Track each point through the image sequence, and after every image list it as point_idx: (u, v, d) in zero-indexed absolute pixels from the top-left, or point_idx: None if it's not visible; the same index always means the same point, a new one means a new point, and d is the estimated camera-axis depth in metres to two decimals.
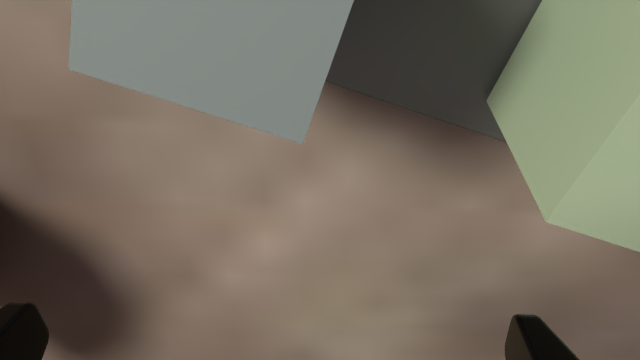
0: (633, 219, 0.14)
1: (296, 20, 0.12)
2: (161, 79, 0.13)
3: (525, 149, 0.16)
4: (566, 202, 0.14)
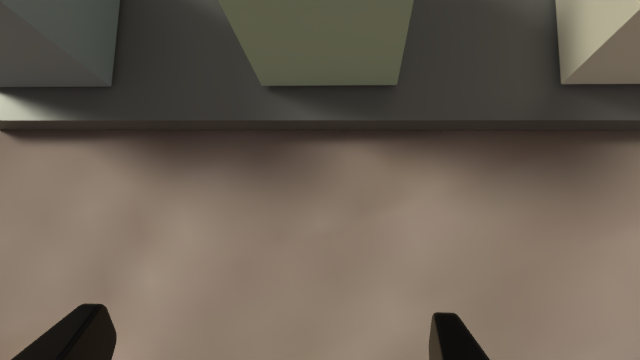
0: None
1: None
2: None
3: None
4: None
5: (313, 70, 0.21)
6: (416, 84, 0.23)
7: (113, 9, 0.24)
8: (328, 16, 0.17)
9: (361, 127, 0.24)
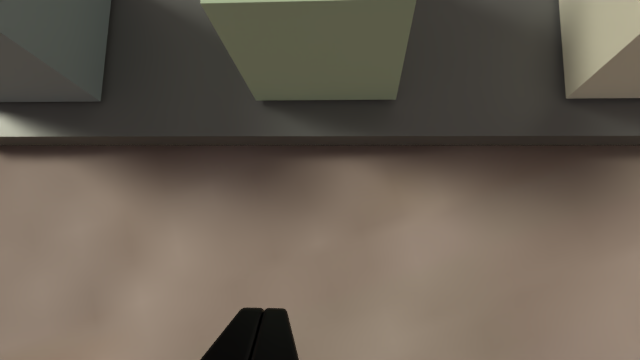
0: None
1: None
2: None
3: None
4: None
5: (309, 85, 0.20)
6: (416, 98, 0.22)
7: (102, 21, 0.23)
8: (324, 32, 0.16)
9: (359, 142, 0.23)
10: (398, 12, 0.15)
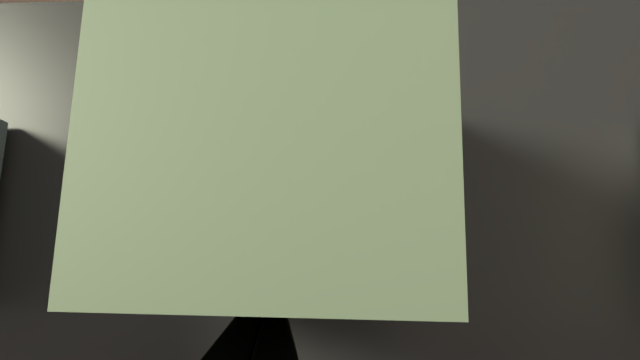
0: (191, 251, 0.07)
1: None
2: None
3: None
4: (63, 257, 0.08)
5: None
6: None
7: None
8: None
9: None
10: None
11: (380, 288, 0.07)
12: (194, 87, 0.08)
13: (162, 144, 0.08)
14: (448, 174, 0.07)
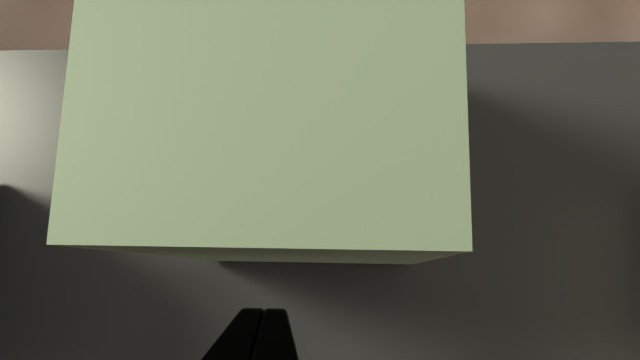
0: (192, 183, 0.07)
1: None
2: None
3: None
4: (62, 191, 0.08)
5: (281, 260, 0.13)
6: None
7: None
8: (294, 254, 0.09)
9: None
10: (432, 253, 0.08)
11: (382, 219, 0.07)
12: (194, 20, 0.08)
13: (162, 78, 0.08)
14: (452, 105, 0.07)
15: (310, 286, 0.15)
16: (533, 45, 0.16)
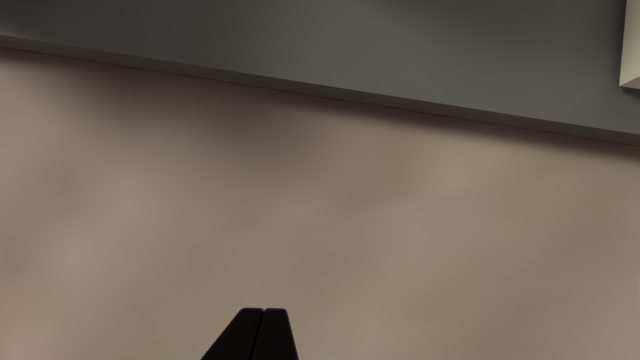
0: None
1: None
2: None
3: None
4: None
5: None
6: (444, 57, 0.18)
7: None
8: None
9: (366, 100, 0.19)
10: None
11: None
12: None
13: None
14: None
15: None
16: None
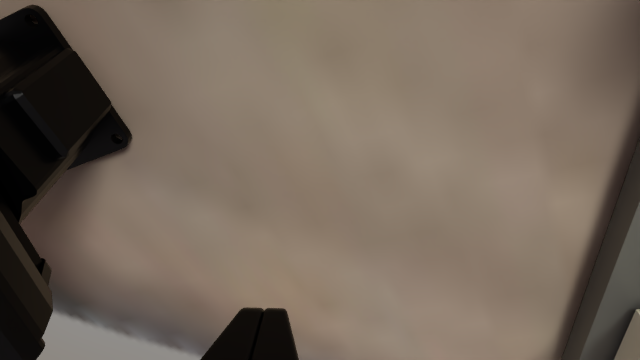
0: None
1: None
2: None
3: None
4: None
5: None
6: None
7: None
8: None
9: None
10: None
11: None
12: None
13: None
14: None
15: None
16: None
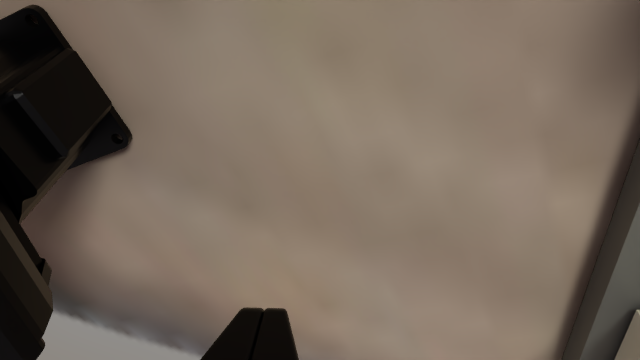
0: None
1: None
2: None
3: None
4: None
5: None
6: None
7: None
8: None
9: None
10: None
11: None
12: None
13: None
14: None
15: None
16: None
